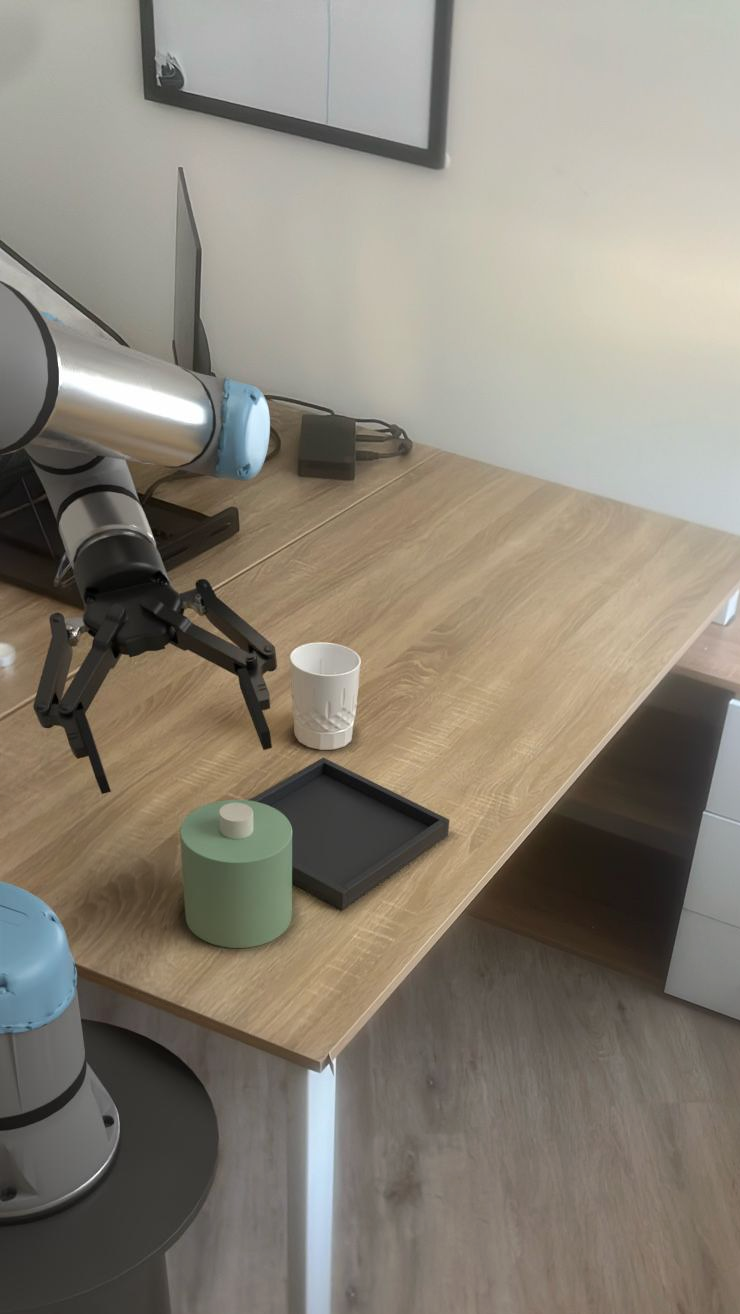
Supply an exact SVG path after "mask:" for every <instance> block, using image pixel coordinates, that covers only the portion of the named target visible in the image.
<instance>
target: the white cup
mask: <svg viewBox="0 0 740 1314" xmlns="http://www.w3.org/2000/svg"><path fill="white" fill-rule="evenodd" d="M361 662H362V659H361V657H360V655H359V654H358V653H357V652H356V651H355V650H353V649H351V648H349V647H348V646H345V645H341V644H339V643H333V642H324V641H323V642H319V641H318V642H310V643H304V644H301V645H299V646H296V648H294V649H293V650H292V651H291V652H290V655H289V668H290V669H289V670H290V692H291V695H290V696H291V704H292V706H291V707H292V715H293V729H294V731H293V733H294V736H295V738H296V740H297V741H298V742H299V743H300V744H302V745H304V746H305V747H307V748H310V749H314V750H320V751H334V750H337V749H342V748H344V747H346V746H347V745H348V744H350V743H351V742H352V739H353V735H354V724H355V723H354V722H355V719H356V716H357V715H356V714H357V706H358V696H359V686H360V684H359V683H360V673H361V665H362V663H361Z"/></svg>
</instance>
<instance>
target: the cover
mask: <svg viewBox="0 0 740 1314" xmlns="http://www.w3.org/2000/svg"><path fill="white" fill-rule="evenodd" d="M248 800H249V799H248ZM248 800H247V799H225V800H219V801H212V802H210V803H207V804H204V805H201V806H199V807H197V808H196V809H194V810H192V811H191V812H190V813H188V814H187V815H186V817H184V819H183V821H182V822H181V824H180V828H179V836H180V838H179V839H180V851H181V852H180V853H181V868H182V870H181V871H182V883H183V898H184V914H185V922H186V925H187V927H188V928H189V930H190V931H191V932H192V934H194V935H195V936H196V937H198V938H199V939H201V940H202V941H204V942H206V943H209V944H211V945H214V946H218V947H223V948H228V949H247V948H254V947H258V946H262V945H265V944H268V943H270V942H273V941H274V940H275V939H277V938H279V937H280V936H282V934H284V933H285V932H286V930H287V929H288V928H289V926H290V924H291V922H292V918H293V883H292V827H291V824H290V822H289V820H288V819H287V818H286V817H285V816H284V815H283V814H282V813H281V812H280V811H278V810H276V809H275V808H273V807H270V806H268V805H265V804H263V803H259V802H254V801H248Z"/></svg>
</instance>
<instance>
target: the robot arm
mask: <svg viewBox="0 0 740 1314" xmlns="http://www.w3.org/2000/svg"><path fill="white" fill-rule="evenodd" d="M270 435H271V418H270V409H269V405H268V401H267V399H266V397H265V395H264V393H263V392H262V391H261V390H260V389H259V388H258V387H256V386H254V385H252V384H248V383H243V382H240V381H235V380H233V379H232V378H231V377H224V378H223V377H218V376H212V375H208V374H204V373H199V372H197V371H194V370H191V369H188V368H186V367H183V366H179V365H177V364H175V363H172V362H169V361H167V360H164V359H161V358H158V357H157V356H153V355H151V354H147V353H144V352H142V351H139V350H136V349H134V348H131V347H129V346H125V345H122V344H121V343H117V342H114V341H111V340H108V339H106V338H104V337H101V336H97V335H95V334H92V333H90V332H87V331H84V330H81V329H79V328H76V327H74V326H70V325H68V324H66V323H64V322H63V321H62V320H61V319H58V318H57V317H56V316H54V315H53V314H52V313H49V312H46V311H43V310H40V309H38V307H37V306H36V305H35V304H34V303H33V301H31V299H29V298H28V297H27V296H26V295H25V294H23V293H22V292H21V291H20V290H19V289H17V288H15V287H14V286H12V285H10V284H8V283H6V282H4V281H2V280H0V455H1V456H3V455H8V454H12V453H15V452H18V451H20V450H22V449H24V450H25V453H26V455H27V458H28V459H29V461H30V463H31V465H32V467H33V469H34V471H35V473H36V475H37V477H38V479H39V481H40V483H41V484H42V486H43V489H44V490H45V494H46V496H47V499H48V502H49V504H50V507H51V510H52V512H53V515H54V518H55V520H56V524H57V527H58V532H59V535H60V538H61V541H62V544H63V547H64V550H65V553H66V555H67V559H68V562H69V565H70V567H71V569H72V571H73V576H74V579H75V582H76V586H77V589H78V592H79V595H80V597H81V600H82V602H83V603H82V604H83V606H84V611H83V615H82V616H73V617H67V618H65V617H64V615H63V614H62V613H60V612H53V613H52V614H50V616H49V625H50V632H51V639H50V643H49V646H48V650H47V653H46V657H45V660H44V665H43V668H42V672H41V676H40V679H39V682H38V687H37V690H36V694H35V698H34V701H33V706H32V707H33V711H34V713H35V715H36V717H37V721H38V722H39V724H40V726H41V727H42V728H44V729H51V728H53V727H54V726H57V727H62V728H63V729H64V732H65V735H66V738H67V741H68V745H69V747H70V750H71V752H72V755H73V756H74V757H75V758H76V760H79V759H83V758H86V757H88V759H89V762H90V765H91V768H92V771H93V774H94V779H95V780H96V783H97V786H98V788H99V790H100V794H101V795H104V794H108V793H111V792H112V790H111V787H110V785H109V781H108V778H107V775H106V771H105V769H104V766H103V762H102V760H101V757H100V756H101V755H100V753H99V750H98V747H97V744H96V741H95V738H94V735H93V732H92V729H91V726H90V724H89V723H90V722H89V720H88V718H87V715H86V713H87V711H88V709H89V708H90V706H91V704H92V703H93V701H94V699H95V697H96V695H97V694H98V692H99V690H100V689H101V687H102V685H103V683H104V681H105V679H106V678H107V676H108V674H109V672H110V671H111V670H113V669H115V667H116V666H117V664H118V662H119V660H120V659H121V657H122V655H124V656H128V657H129V658H133V657H138V656H141V655H142V654H144V653H146V652H158V651H161V650H166V646H167V645H169V644H170V645H172V646H174V647H175V648H178V649H180V650H182V651H185V652H186V651H189V652H191V653H193V654H195V655H196V656H198V657H201V658H202V659H204V660H207V662H210V663H212V664H214V665H215V666H218V667H220V668H221V669H223V670H225V671H227V672H229V673H230V674H233V675H235V676H237V677H238V683H239V689H240V691H241V695H242V697H243V699H244V702H245V705H246V708H247V710H248V713H249V716H250V719H251V721H252V724H253V726H254V729H255V732H256V735H257V737H258V740H259V742H260V745H261V748H262V750H263V751H267V750H269V749H272V748H273V746H272V738H271V737H272V736H271V731H270V728H269V725H268V722H267V720H266V717H265V715H264V711H266V710H269V709H271V704H272V703H271V696H270V692H269V689H268V686H267V684H266V681H265V678H264V674H266V673H267V672H274V671H276V670H277V668H278V661H277V660H278V659H277V652H276V647H275V646H274V644H272V643H271V642H270V641H269V640H268V639H267V638H265V636H263V635H262V634H261V633H260V632H258V631H257V630H256V629H255V628H254V627H253V626H251V624H249V623H248V622H247V621H246V620H245V619H243V618H242V617H241V616H240V615H239V614H238V613H236V612H235V611H234V610H232V609H231V607H229V606H228V605H227V604H225V602H224V601H222V600H221V599H220V598H219V597H218V596H217V594H216V593H215V591H214V589H213V587H212V585H211V583H210V582H209V580H208V579H206V578H200V579H197V581H195V584H194V585H195V588H191V589H189V590H186V591H183V592H180V593H179V592H178V591H177V590H176V589H175V588H173V586H172V584H171V581H170V578H169V576H168V573H167V570H166V567H165V565H164V562H163V560H162V557H161V553H160V551H159V550H158V548H157V543H156V540H155V538H154V534H153V532H152V529H151V526H150V524H149V523H150V522H149V521H148V518H147V516H146V513H145V511H144V509H143V506H142V503H141V502H140V499H139V496H138V493H137V490H136V487H135V484H134V480H133V477H132V474H131V472H130V469H129V466H128V464H127V461H128V462H136V463H141V464H148V465H152V466H159V467H164V468H168V469H174V470H179V471H185V472H189V473H194V474H199V475H203V476H207V477H213V478H214V479H219V480H221V479H226V480H231V481H232V480H234V481H239V482H247V481H251V480H253V479H254V478H255V477H256V476H257V475H258V474H259V473H260V471H261V470H262V468H263V466H264V463H265V461H266V457H267V454H268V453H267V452H268V449H269V443H270ZM186 609H191V610H192V611H193V612H195V613H196V614H197V615H198V616H200V617H203V616H205V617H206V618H207V620H208V622H209V623H210V624H211V625H212V626H213V627H215V628H216V629H217V630H218V631H219V632H220V633H222V635H224V636H225V637H226V638H228V639H229V640H230V641H231V642H232V643H231V642H230V641H227V640H225V639H223V638H221V637H220V636H218V635H216V634H214V633H212V632H210V631H208V630H206V629H204V628H202V627H201V626H199V625H197V624H195V623H193V622H192V620H190V618H188V617H187V616H186V615H184V614H185V610H186ZM85 633H87V634H88V635H89V636H91V637H92V638H93V639H92V642H91V648H90V649H89V652H88V653H87V655H86V656H85V658H84V660H83V662H82V663H81V665H80V667H79V669H78V670H77V672H76V674H75V676H74V677H73V679H72V681H71V682H70V684H69V685H68V688H67V689H66V691H65V687H66V684H67V679H68V675H69V671H70V668H71V664H72V661H73V654H74V653H73V652H74V651H73V650H74V649H73V647H77V646H78V645H79V642H80V640H81V637H82V635H83V634H85ZM233 643H234V644H233ZM64 691H65V692H64ZM77 985H78V970H77V966H76V962H75V959H74V956H73V954H72V952H71V949H70V945H69V940H68V937H67V933H66V929H65V927H64V926H63V924H62V923H61V921H60V918H59V917H58V915H57V914H56V912H55V911H54V910H53V909H52V908H51V907H50V906H49V905H48V904H47V903H46V902H44V901H43V900H42V899H41V898H39V897H38V896H36V895H35V894H33V893H31V892H30V891H28V890H26V889H25V888H22V887H19V886H16V885H14V884H11V883H8V882H5V881H1V880H0V1226H11V1225H19V1224H25V1223H31V1222H35V1221H38V1220H42V1219H45V1218H48V1217H51V1216H54V1215H56V1214H58V1213H61V1212H63V1211H65V1210H67V1209H69V1208H71V1207H73V1206H74V1205H76V1204H78V1203H79V1202H81V1201H82V1200H84V1199H85V1198H86V1197H88V1196H89V1195H90V1194H91V1193H92V1192H94V1191H95V1190H96V1189H97V1188H98V1187H99V1186H100V1185H101V1184H102V1183H103V1181H104V1180H105V1179H106V1178H107V1177H108V1175H109V1174H110V1172H111V1171H112V1169H113V1167H114V1165H115V1163H116V1161H117V1158H118V1155H119V1151H120V1146H121V1131H120V1123H119V1116H118V1112H117V1109H116V1107H115V1105H114V1103H113V1101H112V1099H111V1097H110V1095H109V1094H108V1092H107V1091H106V1089H105V1088H104V1086H103V1085H102V1083H101V1082H100V1081H99V1079H98V1078H97V1076H96V1075H95V1073H94V1072H93V1070H92V1069H91V1068H90V1066H89V1065H88V1063H87V1062H86V1055H85V1048H84V1041H83V1033H82V1025H81V1019H82V1018H81V1011H80V1010H81V1009H80V1004H79V996H78V995H79V993H78V987H77Z"/></svg>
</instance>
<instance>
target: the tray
mask: <svg viewBox="0 0 740 1314" xmlns="http://www.w3.org/2000/svg"><path fill="white" fill-rule="evenodd" d="M248 801H254V802H259V803H263V804H265V805H268V806H270V807H273V808H275V809H276V810H278V811H280V812H281V813H282V814H283V815H284V816H285V817H286V818H287V819H288V820H289V822H290V824H291V827H292V885H295V886H297V887H299V888H301V889H303V891H306V892H308V893H310V894H312V895H314V896H316V897H317V898H319V899H320V900H323V901H325V902H327V903H328V904H330V905H332V906H334V907H335V908H338V909H339V910H341V911H343V910H345V909H347V907H349V906H350V905H352V904H353V903H354V902H357V900H359V899H361V897H363V896H365V895H366V894H367V893H369V892H370V891H372V890H373V889H374V888H376V887H378V885H380V884H382V883H383V882H384V881H386V880H387V879H389V878H390V877H392V876H393V875H394V874H396V873H397V872H398V871H400V870H402V869H403V868H404V867H406V866H407V865H408V864H410V863H411V862H412V861H415V860H416V859H417V858H418V857H420V856H422V854H424V853H425V852H427V851H428V850H430V849H431V848H433V847H434V846H436V845H437V844H438V843H439V842H441V841H442V840H443V839H445V838H447V837H448V836H449V829H450V819H449V818H447V817H445V816H443V815H441V814H439V813H437V812H435V811H433V810H431V809H428V808H427V807H425V806H423V805H420V804H419V803H417V802H414V801H412V800H410V799H408V798H407V797H404V796H403V795H400V794H398V793H396V792H395V791H392V790H390V789H388V788H387V787H385V786H383V785H380V784H378V783H376V782H375V781H372V780H370V779H368V778H366V777H364V776H362V775H360V774H358V773H356V772H354V771H352V770H350V769H348V768H346V767H344V766H342V765H340V764H338V763H336V762H333V761H331V760H330V759H327V758H326V757H321V758H320V759H318V760H316V761H314V762H313V763H311V764H309V765H308V766H305V767H304V768H302V769H301V770H299V771H297V772H295V773H293V774H292V775H290V776H287V777H286V778H285V779H283V780H281V781H279V782H277V783H275V784H273V785H272V786H270V787H268V788H267V789H265V790H263V791H262V792H260V793H258V794H257V795H255V796H252V797H251V798H249V799H248Z"/></svg>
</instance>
